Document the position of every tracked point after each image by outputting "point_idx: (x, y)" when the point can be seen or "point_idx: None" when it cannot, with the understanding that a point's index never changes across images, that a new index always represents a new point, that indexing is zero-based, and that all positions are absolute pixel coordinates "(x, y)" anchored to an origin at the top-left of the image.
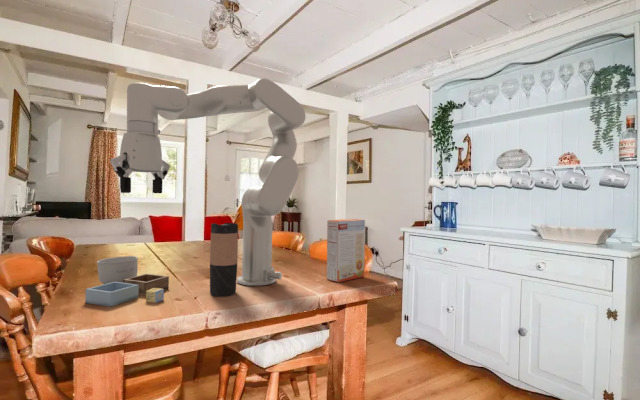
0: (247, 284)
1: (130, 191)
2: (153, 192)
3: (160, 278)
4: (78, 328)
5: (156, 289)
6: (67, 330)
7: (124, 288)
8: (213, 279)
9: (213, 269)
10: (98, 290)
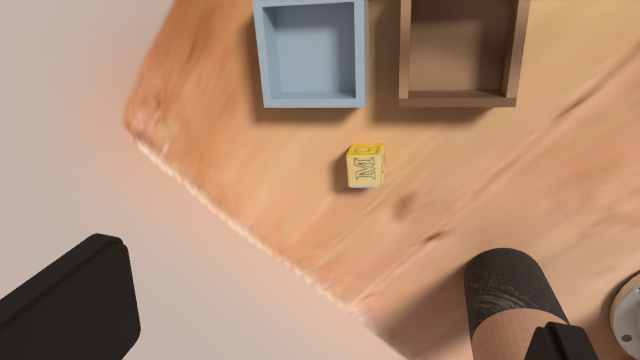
0: (611, 310)
1: (132, 341)
2: (536, 335)
3: (469, 105)
4: (169, 157)
5: (367, 174)
6: (153, 148)
7: (312, 104)
8: (469, 300)
9: (472, 322)
10: (261, 53)
